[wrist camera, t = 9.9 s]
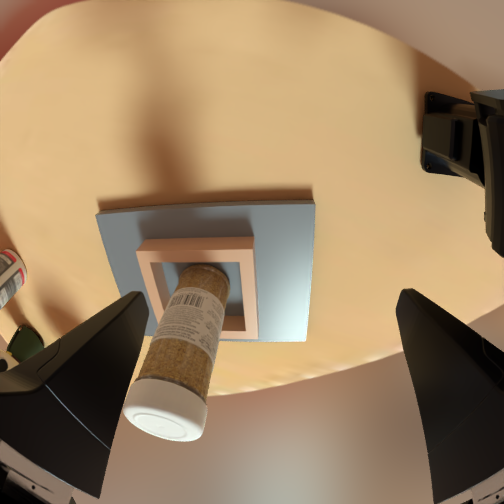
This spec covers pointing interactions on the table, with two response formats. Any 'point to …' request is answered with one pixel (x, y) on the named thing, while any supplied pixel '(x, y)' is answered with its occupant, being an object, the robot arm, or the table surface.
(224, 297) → the sprinkles bottle
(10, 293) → the pill bottle
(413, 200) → the table surface
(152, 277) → the bottle holder
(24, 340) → the character mug
